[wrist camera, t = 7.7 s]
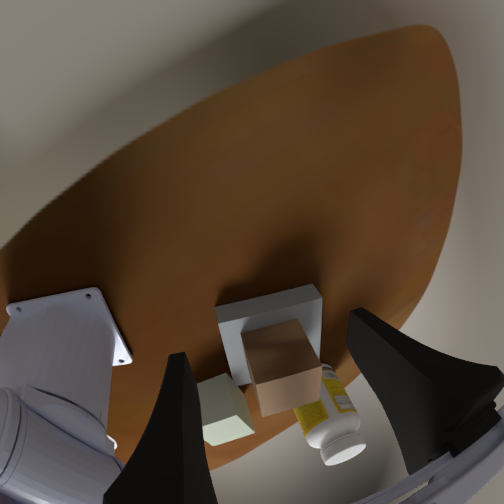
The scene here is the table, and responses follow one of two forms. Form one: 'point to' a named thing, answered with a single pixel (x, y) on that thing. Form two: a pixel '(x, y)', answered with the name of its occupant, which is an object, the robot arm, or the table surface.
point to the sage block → (223, 410)
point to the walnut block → (282, 367)
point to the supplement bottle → (331, 421)
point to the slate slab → (267, 322)
